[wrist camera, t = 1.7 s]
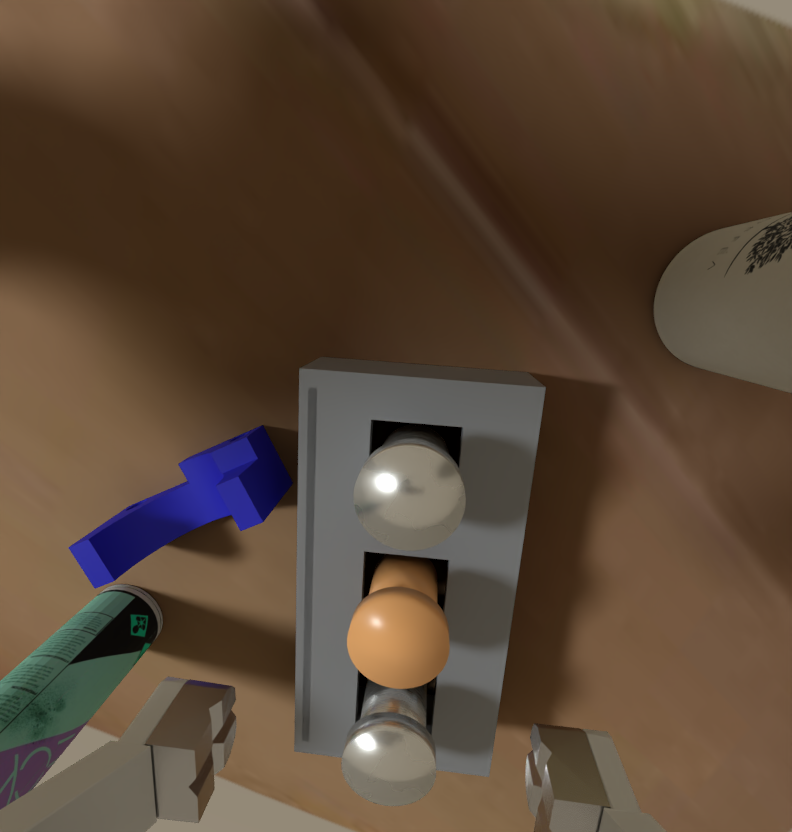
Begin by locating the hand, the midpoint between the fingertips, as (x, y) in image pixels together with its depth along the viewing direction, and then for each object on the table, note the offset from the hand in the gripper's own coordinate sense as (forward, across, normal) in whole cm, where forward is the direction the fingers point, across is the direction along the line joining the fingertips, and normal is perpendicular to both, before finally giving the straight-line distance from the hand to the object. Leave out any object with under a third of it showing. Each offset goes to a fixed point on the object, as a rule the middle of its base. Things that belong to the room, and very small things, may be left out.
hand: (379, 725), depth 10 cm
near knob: (+18, 0, 0) cm, 18 cm away
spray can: (+22, +21, +16) cm, 34 cm away
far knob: (+18, 0, +16) cm, 24 cm away
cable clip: (+22, +15, +5) cm, 27 cm away
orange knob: (+18, 0, +8) cm, 20 cm away
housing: (+21, 0, +8) cm, 23 cm away
